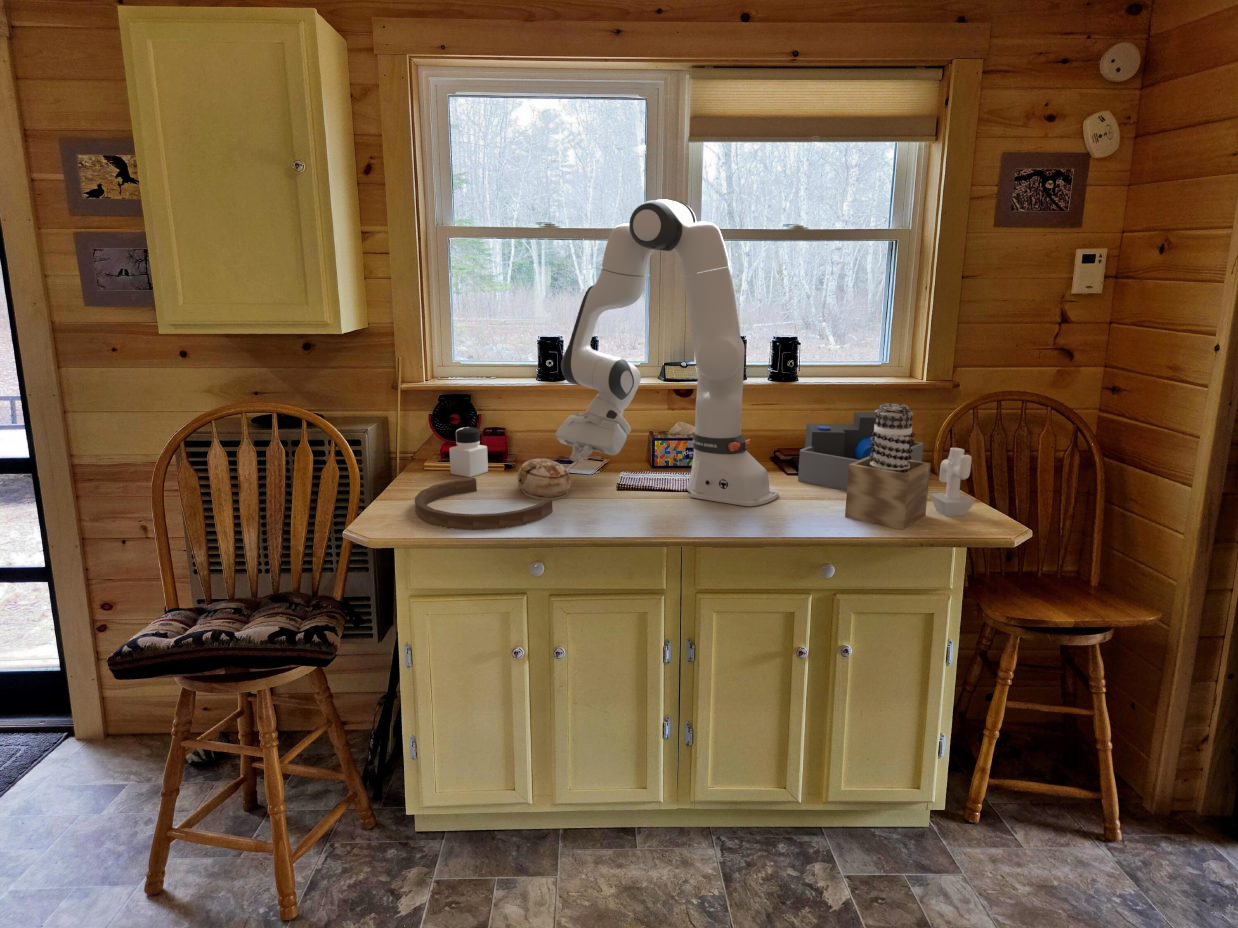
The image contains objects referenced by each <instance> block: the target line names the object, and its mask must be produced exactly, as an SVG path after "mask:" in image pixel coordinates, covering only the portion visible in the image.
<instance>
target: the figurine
mask: <svg viewBox="0 0 1238 928" xmlns="http://www.w3.org/2000/svg"><path fill="white" fill-rule="evenodd" d="M949 449H950V450H949V454H948V457H947V458H946V459H943V460H942V461H941V463H940V466H939V467H940V468H939V476H938V478H939V482H940V483H946V486H945V487H946V489H945V492H934V493H929V492H928V496H929V497H930V499H931V502H932V504H933V506H934V508H935V511H936V512H938V513H940V514H941V515H943V516H945V517H961V516H965V515H966V514H968V512H969V511H970V509H971V508H972V507H973V506H974V504H975V503H976V500H975V499H974V500H973V498H970V497H968V496H967V495H964V494H963V493H961V492H960V489H961V488H960V487H961V481H962V480H966V479H968V478H969V476H970V474H971V467H972V466H971V465H972V456H971V455H970V454H965V449H963V448H962V447H961V448H959V447H950V448H949Z"/></svg>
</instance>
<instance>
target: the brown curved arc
mask: <svg viewBox="0 0 1238 928" xmlns="http://www.w3.org/2000/svg"><path fill="white" fill-rule="evenodd" d="M477 490H478V489H477V479H476V477H467V478H460V479H454V480H450V481H446V482H442V483H438V484H434V485H431V486H429V487H428V488H425V489H422V490H420V492H418V494H417V495H416V496H415V497H414V507H415V514H416V516H417V518H418V519H419V520H420V521H423V522H425V523H426V524H428V525H431V526H432V525H433V526H435V525H436V527H440V526H441V527H440V528H444V527H446V528H445V529H449V528H454V529H455V530H463V531H464V530H466V531H483V530H486V529H488V530H501V528H502V529H507V528H506V527H508V528H512V527H513V528H514V527H521V526H525V525H528V524H531V523H534V522H537V521H540V520H543V519H545V518H546V517H547V516H548V515H550V514H552V513H553V500H552V499H545V500H543V499H542V500H541V501H540V502H538V503H536V504H535V505H532V506H528V507H524V508H521V509H516V510H510V511H509V510H508V511H503V512H499V513H498V512H497V513H496V512H495V513H474V514H473V513H460V512H459V513H458V512H449V511H445V510H439V509H436V508H432V507H431V506H430V505H428V504H431V503H432V502H435V501H437V500H438V499H443V498H445V497H446V498H447V497H450V496H454V495H457V494H465V493H470V492H471V493H472V492H477ZM527 523H528V524H527ZM454 529H453V530H454Z"/></svg>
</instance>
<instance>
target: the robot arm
mask: <svg viewBox="0 0 1238 928" xmlns="http://www.w3.org/2000/svg"><path fill="white" fill-rule="evenodd" d="M697 220H698V219H697V217H696V213H695V212H694V210H692V208H691V207H690V206H689V205H687V204H686V203H684V202H682V201H677V200H670V199H663V198H662V199H656V200H655V199H654V200H652V199H651V200H647V201H645V202H643V203H641V204H639V205H638V206H637V207H635V208H634V210H633V211H632V213H631V216H630V219H629V223H628V222H627V223H622V224H618V225H616V226H615V227H614V228H612V230H611V231H610V233H609V237H608V239H607V242H606V245H605V249H604V253H603V258H602V264H601V269H600V274H599V276H598V278H597V280H596V282H595V283H594V284H593V285H591V286H589V287H588V288H587V290H586V291H585V293H584V296H583V298H582V301H581V303H580V306H579V309H578V313H577V316H576V319H575V322H574V326H573V328H572V333H571V336H570V340H569V343H568V345H567V348H566V350H565V352H564V354H563V356H562V359H561V362H560V370H561V372H562V375H563V377H564V379H565V381H566V382H567V383H569V384H573V385H577V386H582V387H586V388H589V389H592V390H595V391H597V392H598V393H597V394H596V396H594V397H593V399H592V400H591V402H590V403H589V405H588V406H587V409H586V410H585V412H583V413H579V412H575V413H574V414H570V415H569V416H568V417H567V418H566V419H565V420H564V421H563V422H562V423H561V425H559V427H558V429H557V430H556V432H555V438H556V439H557V441H559V443H560V444H562V445H567V446H571V447H572V452H571V454H570V456H569V460H570V461H572V462H575V463H579V464H581V463H583V461H584V459H585V458H587V457H588V456H590V455H591V454H592V453H593V452H598V453H601V454H605V455H610V456H615V455H618V454H619V453H620V452H621V450H622V448H623V447H624V445H625V443H626V441H627V437H628V435H629V434H630V433H631V432H632V428H631V426H630V425H629V423H628V422H627V420H626V419H625V418H624V416H623V415H624V411H625V409H626V408H627V407H629V405H630V404H631V402H632V401H633V399H634V397H635V395H636V393H637V391H638V389H639V386H640V383H641V381H642V374H641V372H640V370H639V368H638V367H636V366H635V365H634V364H632V363H631V362H629V361H627V360H626V359H624V358H622V357H619V356H616V355H614V354H609V353H605V352H602V351H599V350H595V349H593V348H592V346H591V341H592V339H593V336H594V332H595V329H596V327H597V323H598V319H599V317H600V316H601V315H602V314H603V313H604V312H606V311H611V310H615V309H616V310H617V309H623V308H625V307H629V306H631V305H633V304H635V303H636V302H637V301H639V299H640V298H641V297H642V295H643V293H644V289H645V286H646V282H647V273H648V270H649V269H648V268H649V262H650V259H651V256H652V254H653V253H654V252H655V251H663V252H664V251H665V252H671V251H673V252H674V253H676V255H677V256H678V259H679V262H680V267H681V273H682V279H683V285H684V290H685V296H686V302H687V307H688V314H689V324H690V330H691V332H690V333H691V339H692V346H693V353H694V360H695V364H696V367H697V382H696V383H697V384H696V398H695V415H694V416H695V419H694V420H695V424H694V432H693V435H692V450H693V457H692V465H691V472H690V477H689V480H688V482H687V486H686V490H687V491H688V493H690V497H691V498H694V499H698V500H699V499H700V500H705V501H712V502H717V503H725V504H729V505H737V506H743V507H754V506H755V507H756V506H761V505H766V504H768V503H770V502H772V501H774V500H776V499H778V497H779V491H778V490H777V489H773V488H771V487H770V479H769V473H768V471H767V469H766V468H765V467H764V466H763V465H762V464H761V463H760V462H758V460H757V459H756V458H755V457H753V455H751V454H750V453H749V451H747V446H746V445H749V444H751V442H750V441H751V439H750V438H748V439H744V436H743V434H742V415H743V413H742V412H743V390H744V373H745V372H744V371H745V352H746V351H745V349H746V348H745V344H744V341H743V339H742V338H741V330H740V329H741V328H740V323H739V315H738V309H737V302H736V295H735V289H734V283H733V277H732V271H731V265H730V260H729V255H728V251H727V247H726V243H725V241H724V238H723V235H722V233H721V230H720V228H719V227H718V226H717V225H716V224H714V223H713V222H709V221H697Z"/></svg>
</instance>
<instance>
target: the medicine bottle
mask: <svg viewBox="0 0 1238 928" xmlns="http://www.w3.org/2000/svg"><path fill="white" fill-rule="evenodd" d="M480 437H481V435H480V430H479V428H476V427H469V426H467V427H460V428H458V429H456V431H455V440H456V441H455V442H456V443H455V444H456V445H455V446H454V445H453V446H451V447H449V450H448V451H449V467H450V468H449V469H450V470H449V471H450V475H455V476H456V475H457V476H460V477H467V478H474V477H477V476H479V475H482V474H485V473H488V472H489V463H488V461H489V460H488V459H489V458H488V446H487V445H482V444H480V442H481V441H480V440H481V439H480Z"/></svg>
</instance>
